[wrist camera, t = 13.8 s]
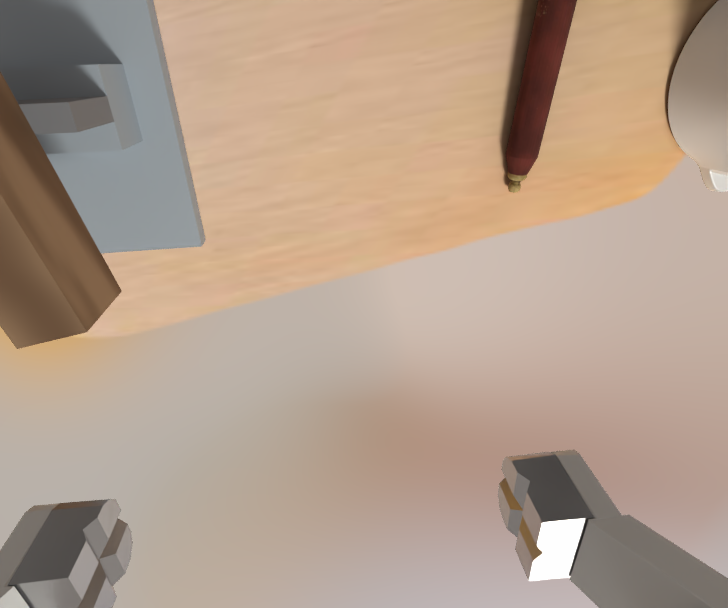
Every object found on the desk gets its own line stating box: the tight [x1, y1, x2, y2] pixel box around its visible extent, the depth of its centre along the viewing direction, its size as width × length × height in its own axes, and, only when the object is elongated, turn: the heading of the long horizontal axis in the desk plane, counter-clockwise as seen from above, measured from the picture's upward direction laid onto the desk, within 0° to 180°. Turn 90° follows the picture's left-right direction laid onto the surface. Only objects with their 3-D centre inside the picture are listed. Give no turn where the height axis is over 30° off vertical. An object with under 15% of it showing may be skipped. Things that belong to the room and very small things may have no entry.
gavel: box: [506, 0, 577, 193], centre depth 33 cm, size 21×5×10 cm
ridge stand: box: [0, 0, 205, 253], centre depth 28 cm, size 14×22×10 cm, turn 2°
